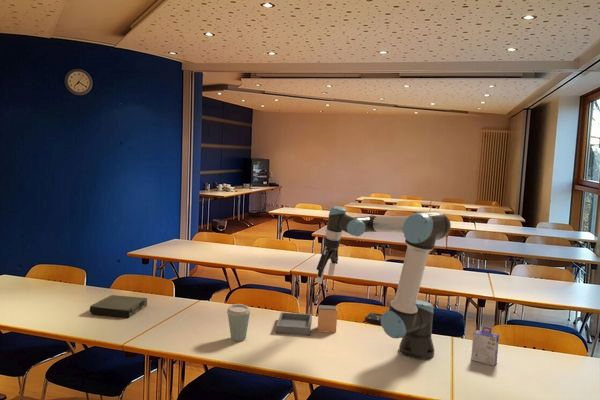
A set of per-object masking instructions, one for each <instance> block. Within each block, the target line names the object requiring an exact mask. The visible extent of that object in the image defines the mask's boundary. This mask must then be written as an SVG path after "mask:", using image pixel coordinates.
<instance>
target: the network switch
mask: <svg viewBox="0 0 600 400" xmlns="http://www.w3.org/2000/svg"><path fill="white" fill-rule="evenodd" d="M147 305H148V298H147V297H137V296H129V295H128V296H127V295H117V294H112V295H108V296H106V297H104V298H102V299H100V300H99V301H97V302H95V303H93V304H91V305H90V306H89V312H90V314H92V315H95V316H105V317H114V318H122V319H129V318H130V317H132V316H133V315H135V314H136V313H138V312H139V311H140V310H142V309H143V308H144V307H147Z"/></svg>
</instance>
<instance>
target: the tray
mask: <svg viewBox="0 0 600 400" xmlns="http://www.w3.org/2000/svg"><path fill="white" fill-rule="evenodd" d="M312 321H313V314H311V313H299V312H297V313H296V312H283V311H280V314H279V317H278V319H277V323H276V326H275V327H276V328H275V333H276V334H288V335H298V334H301V335H300V336H310V335H311V328H312Z"/></svg>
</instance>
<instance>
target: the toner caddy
mask: <svg viewBox="0 0 600 400" xmlns="http://www.w3.org/2000/svg"><path fill="white" fill-rule="evenodd" d="M317 313H318V316H317V332H319V331H327V332H326V333H332V332H336V333H337V325H338V323H337V322H338V306H337V305H323V304H319V305H318V312H317Z"/></svg>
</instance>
